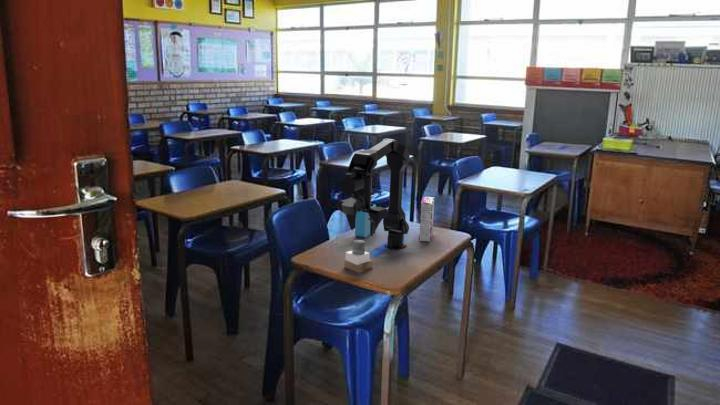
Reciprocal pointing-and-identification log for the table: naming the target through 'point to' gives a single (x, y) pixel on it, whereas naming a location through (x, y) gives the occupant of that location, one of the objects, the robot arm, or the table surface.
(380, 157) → the robot arm
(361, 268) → the bottom block
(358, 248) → the spool
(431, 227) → the candy bar box
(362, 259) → the top block
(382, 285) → the table surface
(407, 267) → the table surface
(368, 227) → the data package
